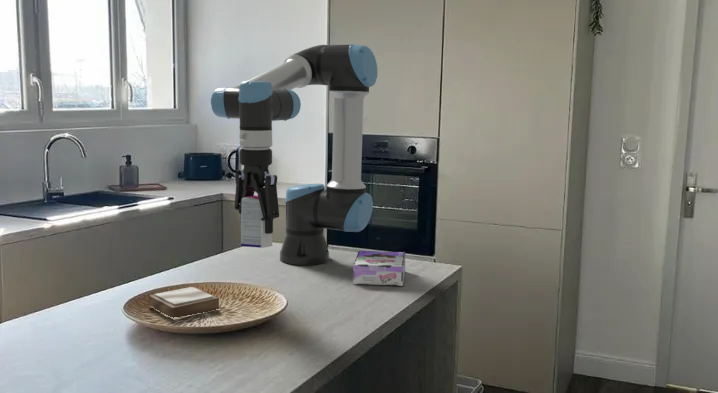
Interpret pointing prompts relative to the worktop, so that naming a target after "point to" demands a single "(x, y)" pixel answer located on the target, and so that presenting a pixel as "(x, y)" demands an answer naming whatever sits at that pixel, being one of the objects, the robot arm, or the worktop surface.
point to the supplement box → (251, 222)
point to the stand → (184, 302)
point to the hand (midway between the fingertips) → (256, 243)
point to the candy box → (379, 268)
